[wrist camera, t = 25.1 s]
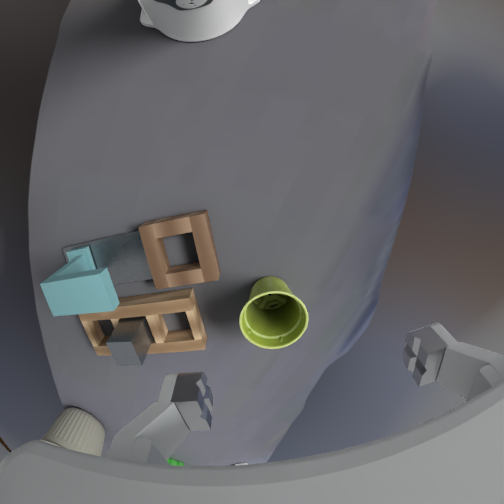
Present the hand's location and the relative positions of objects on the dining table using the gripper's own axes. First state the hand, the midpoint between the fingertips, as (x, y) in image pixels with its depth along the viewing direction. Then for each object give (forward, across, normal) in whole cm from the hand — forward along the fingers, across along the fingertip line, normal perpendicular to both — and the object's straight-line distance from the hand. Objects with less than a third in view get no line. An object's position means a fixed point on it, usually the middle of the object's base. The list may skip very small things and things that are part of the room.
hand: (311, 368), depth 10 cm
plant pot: (+33, +1, +14) cm, 36 cm away
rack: (+33, +24, +16) cm, 44 cm away
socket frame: (+33, +21, +4) cm, 40 cm away
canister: (+33, +57, +48) cm, 82 cm away
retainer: (+32, +27, +4) cm, 42 cm away
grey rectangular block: (+33, +24, +16) cm, 44 cm away
